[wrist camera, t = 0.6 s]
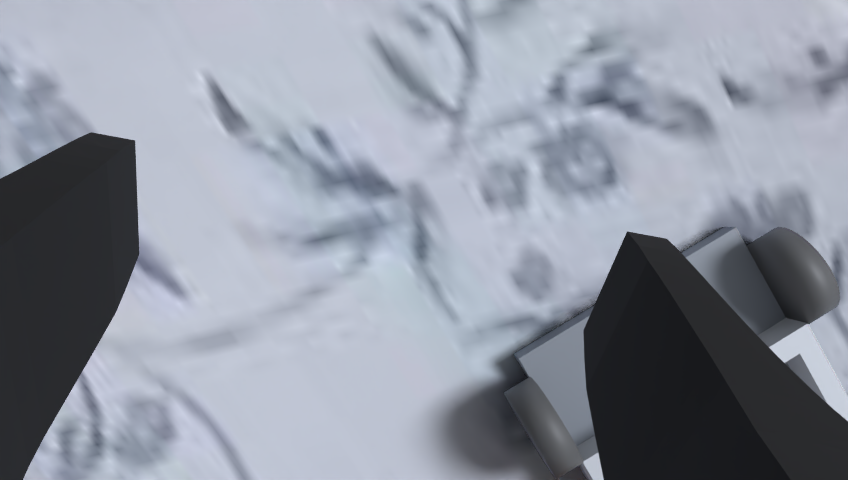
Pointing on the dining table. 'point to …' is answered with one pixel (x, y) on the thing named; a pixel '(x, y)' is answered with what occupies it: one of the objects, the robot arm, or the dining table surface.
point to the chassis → (743, 291)
